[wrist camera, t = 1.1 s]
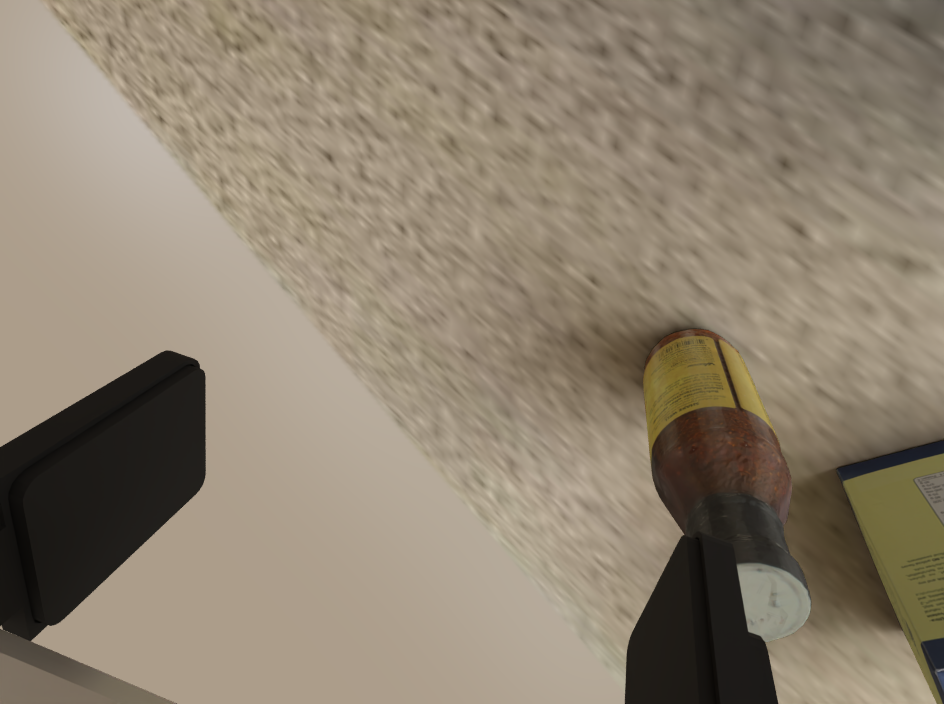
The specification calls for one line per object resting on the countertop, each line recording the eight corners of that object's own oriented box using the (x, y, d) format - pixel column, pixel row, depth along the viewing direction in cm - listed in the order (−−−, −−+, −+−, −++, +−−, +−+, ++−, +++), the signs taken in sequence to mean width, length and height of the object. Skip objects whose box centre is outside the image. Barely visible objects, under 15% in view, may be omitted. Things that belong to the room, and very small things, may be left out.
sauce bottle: (628, 390, 41) (620, 623, 24) (666, 310, 39) (687, 509, 21) (722, 424, 41) (782, 689, 23) (767, 345, 38) (875, 580, 20)
